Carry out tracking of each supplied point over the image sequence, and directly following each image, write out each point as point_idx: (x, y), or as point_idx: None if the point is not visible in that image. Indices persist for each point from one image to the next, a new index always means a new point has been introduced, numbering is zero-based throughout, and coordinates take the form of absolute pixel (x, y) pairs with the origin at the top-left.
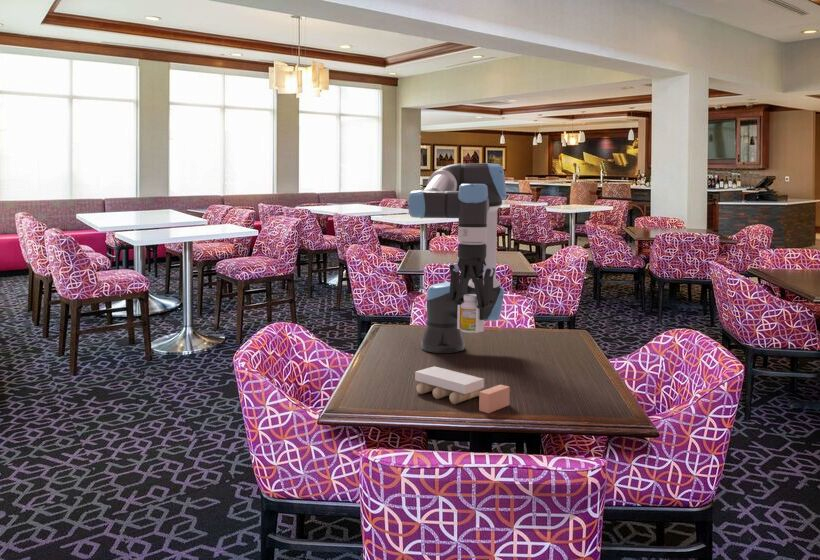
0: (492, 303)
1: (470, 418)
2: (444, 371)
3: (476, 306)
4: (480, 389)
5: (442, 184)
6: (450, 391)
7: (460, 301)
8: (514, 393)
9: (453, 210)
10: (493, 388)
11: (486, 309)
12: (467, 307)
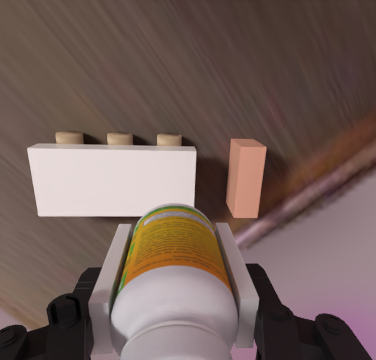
0: (346, 333)
1: (236, 238)
2: (84, 167)
3: (232, 344)
4: (180, 139)
5: None
6: None
7: (86, 351)
8: (221, 59)
9: None
10: (244, 181)
11: (280, 302)
12: None
